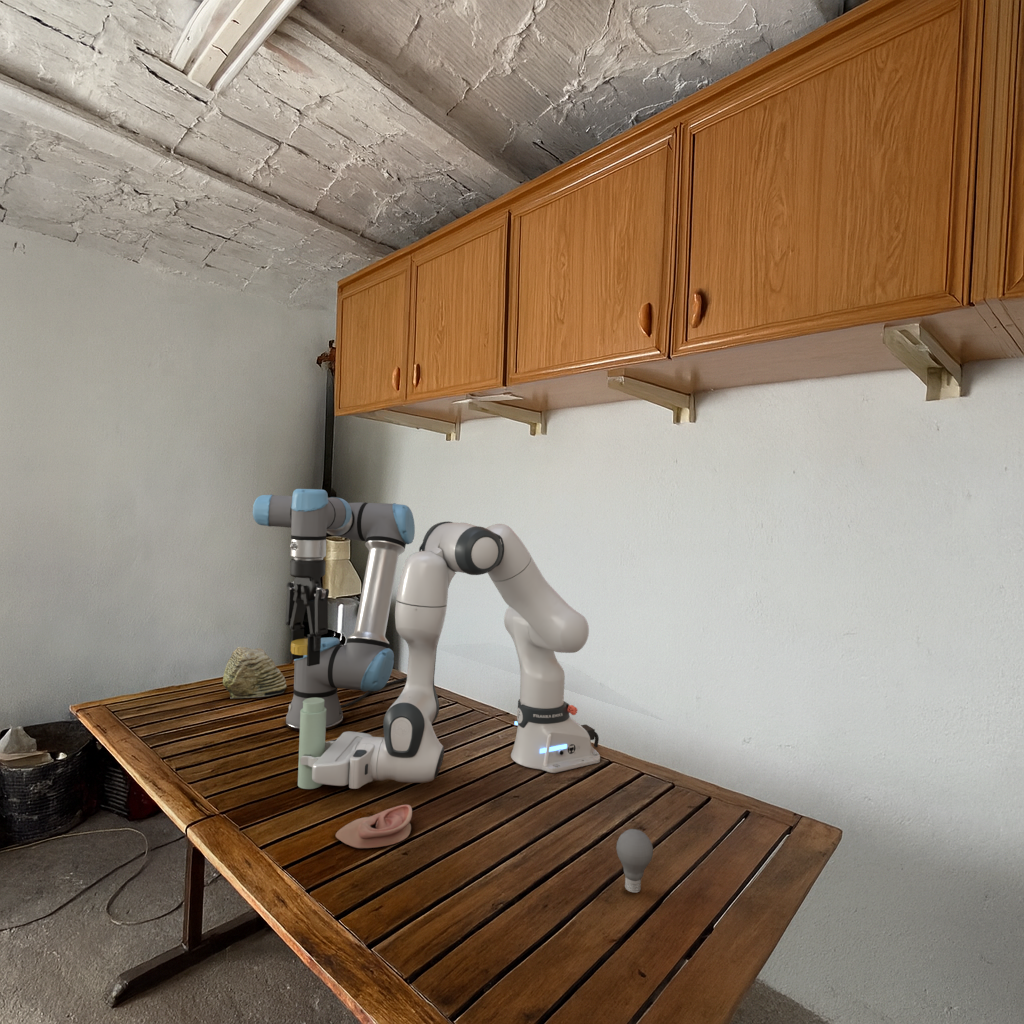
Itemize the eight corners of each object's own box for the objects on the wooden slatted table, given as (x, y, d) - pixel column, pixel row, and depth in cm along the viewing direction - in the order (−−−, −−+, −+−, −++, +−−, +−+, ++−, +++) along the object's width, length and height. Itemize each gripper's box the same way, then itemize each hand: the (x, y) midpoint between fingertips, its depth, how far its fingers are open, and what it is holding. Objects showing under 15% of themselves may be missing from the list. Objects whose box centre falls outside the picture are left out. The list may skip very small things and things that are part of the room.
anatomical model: (328, 822, 116) (356, 794, 127) (327, 843, 116) (355, 813, 127) (396, 832, 113) (418, 803, 124) (395, 855, 113) (418, 823, 124)
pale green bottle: (320, 776, 143) (323, 695, 143) (326, 786, 139) (329, 702, 138) (295, 780, 141) (298, 698, 140) (300, 791, 136) (303, 705, 136)
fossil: (218, 695, 195) (220, 647, 195) (278, 685, 208) (279, 640, 207) (228, 703, 189) (230, 653, 188) (289, 692, 201) (290, 645, 201)
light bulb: (610, 879, 108) (613, 822, 108) (644, 879, 109) (647, 822, 109) (619, 902, 102) (622, 840, 102) (655, 901, 103) (658, 840, 103)
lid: (284, 652, 140) (285, 641, 140) (307, 646, 145) (307, 637, 145) (303, 657, 137) (303, 646, 137) (325, 651, 142) (326, 641, 142)
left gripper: (270, 555, 144) (267, 655, 145) (316, 564, 131) (313, 674, 132) (300, 553, 150) (297, 650, 150) (347, 561, 137) (344, 667, 138)
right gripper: (383, 726, 149) (325, 722, 150) (355, 762, 128) (289, 757, 129) (382, 753, 149) (324, 749, 150) (353, 793, 129) (287, 787, 130)
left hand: (305, 661), depth 141 cm, fingers closed on lid, 6 cm apart
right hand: (307, 753), depth 140 cm, fingers closed on pale green bottle, 5 cm apart
